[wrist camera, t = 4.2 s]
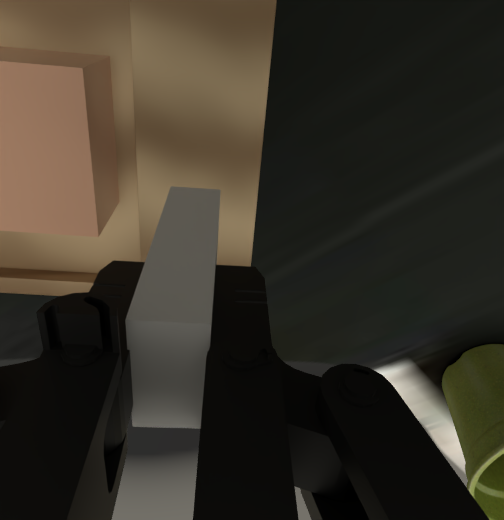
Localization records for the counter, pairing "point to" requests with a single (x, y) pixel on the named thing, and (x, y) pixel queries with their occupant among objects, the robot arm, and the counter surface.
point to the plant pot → (480, 422)
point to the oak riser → (154, 123)
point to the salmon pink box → (56, 142)
